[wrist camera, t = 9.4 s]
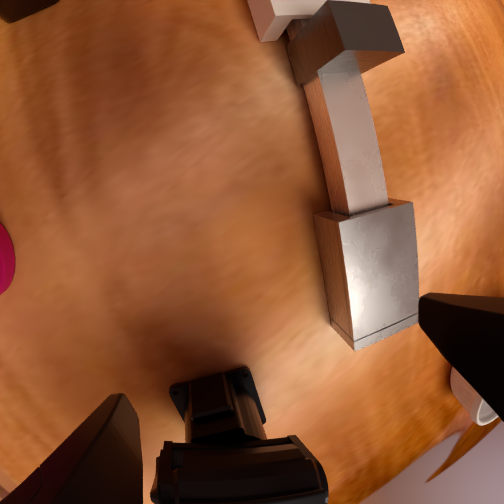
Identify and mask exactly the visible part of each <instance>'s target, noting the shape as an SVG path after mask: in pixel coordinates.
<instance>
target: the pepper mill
mask: <svg viewBox="0 0 504 504" xmlns="http://www.w3.org/2000/svg"><path fill="white" fill-rule="evenodd" d="M14 271H15V255H14V250H13V245H12V242H11V240H10V237H9V235H8V233H7V231H6V230H5V228H4V227H3V225H2V224H1V223H0V294H2V293H3V292H4V291H6V290H7V288H8V287H9V286H10V284H11V282H12V279H13V275H14Z"/></svg>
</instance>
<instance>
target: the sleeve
mask: <svg viewBox="0 0 504 504" xmlns="http://www.w3.org/2000/svg"><path fill="white" fill-rule="evenodd" d="M388 204H389V206H387V207H384V208H380V209H376V210H373V211H369V212H365V213H362V214H358V215H354V216H351V217H347V216H343V215H340V214H336V213H332V212H329V211H322V212H319V213H315V214H313V220H314V225H315V230H316V235H317V241H318V246H319V252H320V258H321V263H322V269H323V275H324V281H325V288H326V294H327V300H328V307H329V314H330V317H331V318H330V321H331V327H332V328H333V329H334V330H335V331H336V332H337V333H338V334H339V335H340V336H341V337H342V338H343V339H344V341H345V342H346V343H347V344H348V345H349V346H350V347H351V348H352V349H353V350H354V351H357V350H359V349H362V348H364V347H366V346H369V345H371V344H373V343H376V342H378V341H380V340H382V339H385V338H387V337H389V336H391V335H393V334H395V333H398V332H400V331H402V330H404V329H406V328H408V327H410V326H412V325H414V324H416V323H418V300H419V278H418V255H417V240H416V228H415V218H414V209H413V202H409V201H403V200H397V199H390V198H388Z"/></svg>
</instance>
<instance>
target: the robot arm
mask: <svg viewBox="0 0 504 504" xmlns="http://www.w3.org/2000/svg"><path fill="white" fill-rule="evenodd" d="M418 323H419V325H420V327H421V329H422V330H423V331H424V332H425V334H426V335H427V336H428V337H429V339H430V340H431V341H432V342H433V344H434V345H435V346H436V348H437V349H438V350H439V351H440V353H441V354H442V355H443V356H444V358H445V359H446V360H447V361H448V362H449V363H450V364H451V365H452V366H453V367H454V368H455V369H456V370H457V372H458V373H459V374H460V375H461V376H462V377H463V378H464V379H465V380H466V381H467V382H468V383H469V384H470V385H471V386H472V388H473V389H474V390H475V391H476V392H477V393H478V394H479V395H480V396H481V397H482V398H483V400H484V401H485V402H486V403H487V404H488V405H489V406H490V407H491V408H492V410H493V411H494V412H495V413H496V414H497V415H498V416H499V417H500V419H501V420H502V421H503V422H504V298H503V297H487V296H472V295H457V294H444V293H427V294H425V295H423V296H421V297H420V298H419V300H418ZM244 372H246V374H244V375H243V374H242V373H244ZM174 390H176V391H178V392H173V391H174ZM169 394H170V396H171V398H172V400H173V402H174V404H175V406H176V408H177V410H178V412H179V413H180V415H181V417H182V419H183V421H184V423H185V440H186V443H173V442H172V441H164V446H163V449H161V451H160V456H159V457H157V458H156V475H155V479H154V482H153V485H152V489H151V492H150V497H151V501H152V502H153V503H154V504H327V502H328V483H327V478H326V475H325V472H324V470H323V468H322V466H321V464H320V463H319V461H318V460H317V459H316V458H315V457H314V456H313V455H312V453H311V452H310V451H309V450H308V449H307V448H306V447H305V445H304V444H303V443H302V442H301V441H300V440H299V438H298V437H297V436H296V435H289V436H287V437H284V438H276V439H267V437H266V434H265V431H264V428H263V424H264V423H266V418H265V415H264V412H263V409H262V406H261V402H260V399H259V396H258V393H257V390H256V387H255V384H254V381H253V378H252V374H251V371H250V369H249V368H248V367H240V368H237V369H234V370H230V371H226V372H223V373H217V374H214V375H210V376H206V377H202V378H198V379H194V380H191V381H188V382H184V383H180V384H175V385H172V386H171V387H170V388H169ZM261 419H262V420H261ZM0 504H143V462H142V451H141V441H140V429H139V419H138V416H137V413H136V412H135V410H134V408H133V407H132V405H131V403H130V402H129V400H128V398H127V397H126V395H125V394H123V393H118V394H112V395H110V396H108V397H107V398H106V399H105V400H104V401H103V402H102V404H101V405H100V406H99V407H98V408H97V409H96V410H95V411H94V412H93V413H92V414H91V415H90V416H89V417H88V418H87V419H86V420H85V421H84V422H83V423H82V424H81V425H80V426H79V427H78V428H77V429H76V430H75V431H74V432H73V433H72V434H71V435H70V436H69V437H68V438H67V439H66V440H65V441H64V442H63V443H62V444H61V445H60V446H59V447H58V448H57V449H56V450H55V451H54V452H53V453H52V454H51V455H50V456H49V457H48V458H47V459H46V460H45V461H44V462H43V463H42V464H41V465H40V467H37V468H36V470H35V471H34V472H33V473H32V474H31V475H30V476H28V477H27V478H26V479H25V480H24V481H23V482H22V483H21V484H20V485H19V486H18V487H17V488H15V490H13V491H12V492H11V493H10V494H9V495H7V496H6V497H5V498H4V499H2V500H1V501H0Z"/></svg>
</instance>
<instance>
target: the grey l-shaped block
mask: <svg viewBox="0 0 504 504" xmlns="http://www.w3.org/2000/svg"><path fill="white" fill-rule="evenodd" d="M286 29H287V32H288V35H289V39H290V44H289V45H288V46H287V47H286V49H287V52H288V55H289V59H290V62H291V66H292V69H293V73H294V76H295V80H296V83H297V86H304V90H305V93H306V97H307V101H308V105H309V109H310V113H311V116H312V120H313V125H314V129H315V133H316V137H317V141H318V146H319V150H320V155H321V159H322V164H323V168H324V173H325V178H326V183H327V188H328V193H329V198H330V203H331V209H332V213H336V214H340V215H343V216H347V217H351V216H354V215H358V214H362V213H365V212H369V211H373V210H376V209H380V208H384V207H387V206H389V204H388V197H387V190H386V184H385V178H384V172H383V166H382V161H381V156H380V151H379V146H378V141H377V136H376V132H375V127H374V123H373V119H372V114H371V110H370V106H369V102H368V99H367V95H366V91H365V87H364V84H363V80H362V77H361V74H362V73H364V72H366V71H368V70H370V69H372V68H374V67H376V66H378V65H380V64H382V63H384V62H386V61H388V60H390V59H392V58H394V57H396V56H398V55H401V54H403V53H405V51H404V48H403V45H402V42H401V40H400V37H399V34H398V31H397V29H396V26H395V23H394V21H393V18H392V16H391V13H390V11H389V9H388V6H384V5H377V4H369V3H361V2H350V1H337V0H327V1H326V2H325V3H324V4H323V5H322V6H321V7H320V8H319V10H318V11H317V12H316V13H315V14H314V15H313V16H312V17H311V19H292V20H291V21H290V23H289V24H288V26H287V27H286Z"/></svg>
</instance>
